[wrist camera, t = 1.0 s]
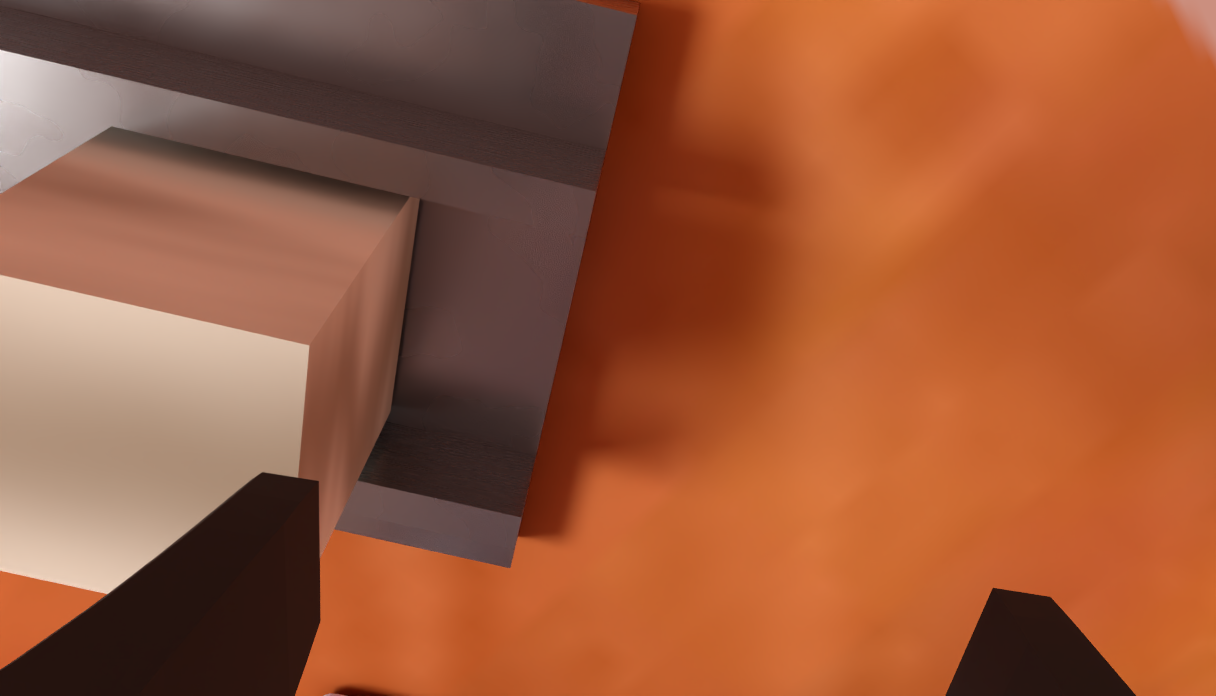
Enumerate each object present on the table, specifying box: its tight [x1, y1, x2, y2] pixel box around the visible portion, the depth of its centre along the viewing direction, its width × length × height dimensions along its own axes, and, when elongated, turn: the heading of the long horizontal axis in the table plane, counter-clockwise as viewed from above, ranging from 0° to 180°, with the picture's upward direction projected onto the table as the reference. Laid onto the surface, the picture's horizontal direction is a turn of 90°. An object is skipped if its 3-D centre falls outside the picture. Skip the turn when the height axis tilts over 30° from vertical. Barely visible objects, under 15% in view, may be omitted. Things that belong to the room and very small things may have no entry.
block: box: [0, 126, 420, 594], centre depth 16 cm, size 5×5×6 cm
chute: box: [0, 0, 640, 568], centre depth 19 cm, size 12×20×3 cm, turn 77°
